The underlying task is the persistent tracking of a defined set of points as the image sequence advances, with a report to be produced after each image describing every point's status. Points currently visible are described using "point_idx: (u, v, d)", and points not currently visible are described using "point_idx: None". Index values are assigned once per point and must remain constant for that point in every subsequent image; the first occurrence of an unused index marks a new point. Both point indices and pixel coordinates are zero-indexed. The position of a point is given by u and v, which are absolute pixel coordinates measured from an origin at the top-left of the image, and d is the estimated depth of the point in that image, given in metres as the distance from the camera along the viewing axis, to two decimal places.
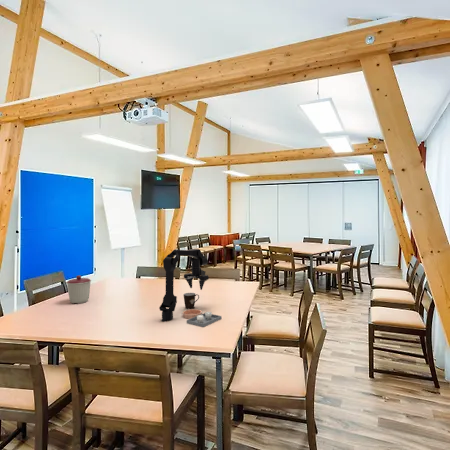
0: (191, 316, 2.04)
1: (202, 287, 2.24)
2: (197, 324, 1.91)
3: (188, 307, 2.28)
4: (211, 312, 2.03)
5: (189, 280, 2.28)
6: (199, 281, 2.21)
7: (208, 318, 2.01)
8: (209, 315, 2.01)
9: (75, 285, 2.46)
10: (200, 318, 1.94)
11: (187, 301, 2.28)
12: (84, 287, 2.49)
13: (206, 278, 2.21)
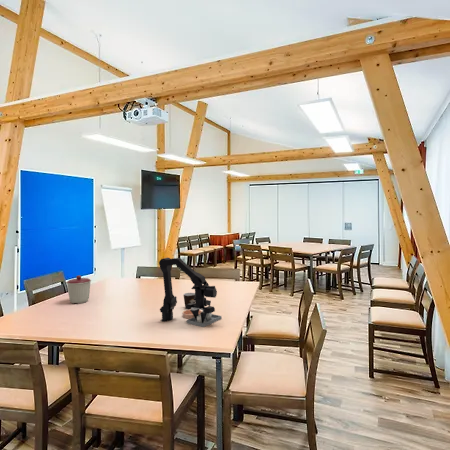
0: (191, 316, 2.04)
1: (204, 319, 1.95)
2: (197, 324, 1.91)
3: None
4: None
5: (195, 312, 1.96)
6: (200, 313, 1.92)
7: (208, 318, 2.01)
8: (209, 315, 2.01)
9: (75, 285, 2.46)
10: (200, 318, 1.94)
11: (187, 301, 2.28)
12: (84, 287, 2.49)
13: (212, 310, 1.90)
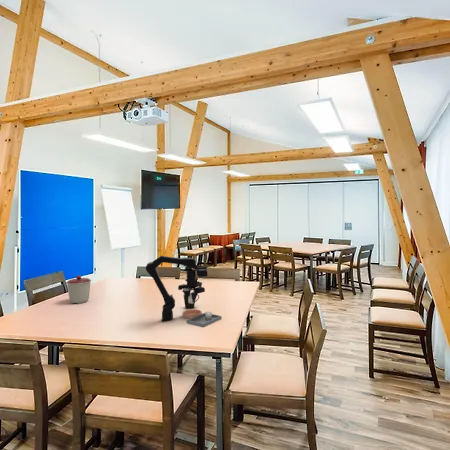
0: (191, 316, 2.04)
1: (195, 299, 2.05)
2: (197, 324, 1.91)
3: (188, 307, 2.28)
4: (211, 312, 2.03)
5: (187, 292, 2.07)
6: (191, 293, 2.02)
7: (208, 318, 2.01)
8: (209, 315, 2.01)
9: (74, 285, 2.46)
10: (191, 298, 2.05)
11: (187, 301, 2.28)
12: (84, 287, 2.49)
13: (202, 290, 2.01)
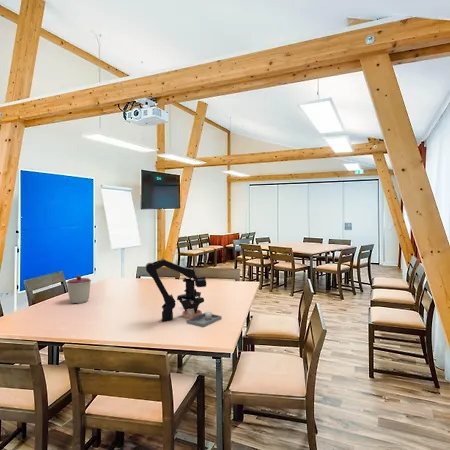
0: (191, 316, 2.04)
1: (196, 310, 2.06)
2: (197, 324, 1.91)
3: (188, 307, 2.28)
4: (211, 312, 2.03)
5: (183, 302, 2.10)
6: (193, 304, 2.03)
7: (208, 318, 2.01)
8: (209, 315, 2.01)
9: (74, 285, 2.46)
10: (191, 312, 2.07)
11: (187, 301, 2.28)
12: (84, 287, 2.49)
13: (201, 301, 2.03)
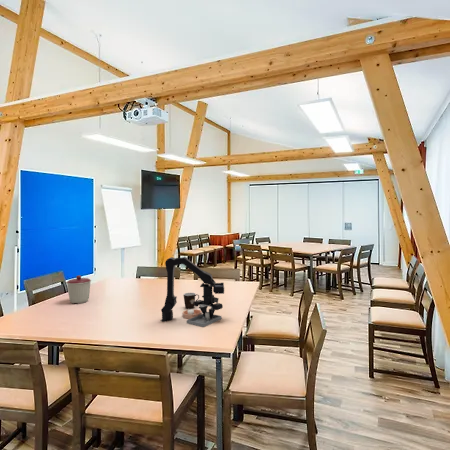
0: (191, 316, 2.04)
1: (212, 316, 2.01)
2: (197, 324, 1.91)
3: (188, 307, 2.28)
4: None
5: (203, 309, 2.03)
6: (209, 310, 1.98)
7: (208, 318, 2.01)
8: (209, 315, 2.01)
9: (75, 285, 2.46)
10: (191, 312, 2.06)
11: (187, 301, 2.28)
12: (84, 287, 2.49)
13: (220, 307, 1.97)
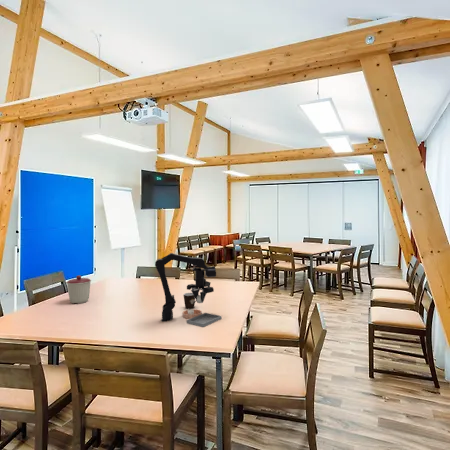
0: (191, 316, 2.04)
1: (203, 299, 2.06)
2: (197, 324, 1.91)
3: (188, 307, 2.28)
4: None
5: (195, 292, 2.08)
6: (200, 293, 2.03)
7: (199, 301, 2.06)
8: (200, 298, 2.06)
9: (75, 285, 2.46)
10: (191, 312, 2.06)
11: (187, 301, 2.28)
12: (84, 287, 2.49)
13: (211, 290, 2.02)
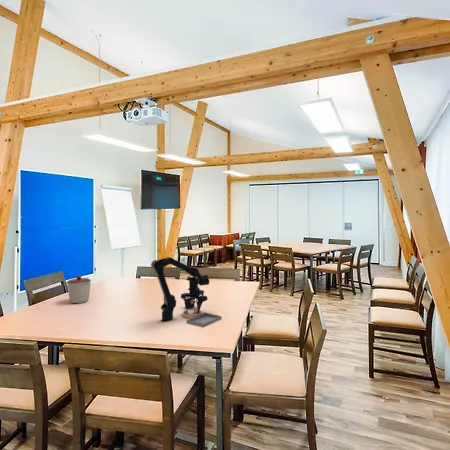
0: (191, 316, 2.04)
1: None
2: (197, 324, 1.91)
3: None
4: None
5: (187, 301, 2.14)
6: (196, 302, 2.07)
7: (194, 313, 2.11)
8: (195, 310, 2.11)
9: (74, 285, 2.46)
10: (191, 312, 2.07)
11: None
12: (84, 287, 2.49)
13: (205, 299, 2.07)
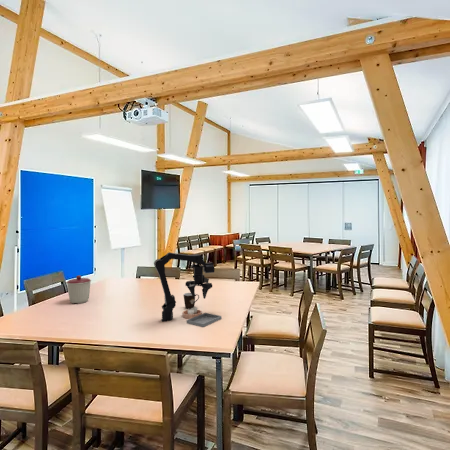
0: (191, 316, 2.04)
1: (205, 296, 2.08)
2: (197, 324, 1.91)
3: (188, 307, 2.28)
4: None
5: (191, 288, 2.12)
6: (202, 289, 2.05)
7: (194, 313, 2.11)
8: (195, 310, 2.11)
9: (74, 285, 2.46)
10: (191, 312, 2.06)
11: (187, 301, 2.28)
12: (84, 287, 2.49)
13: (210, 286, 2.05)
